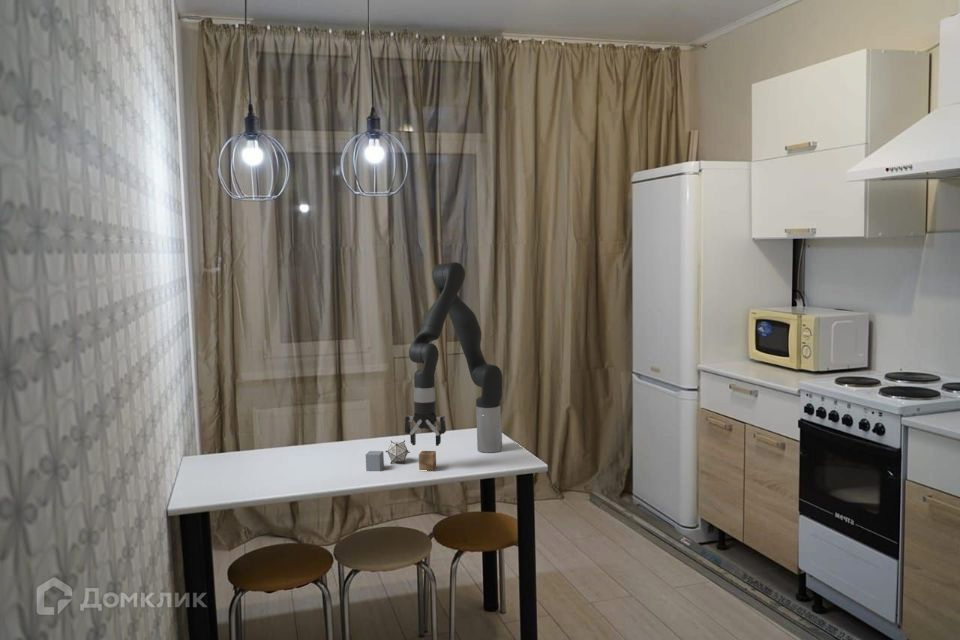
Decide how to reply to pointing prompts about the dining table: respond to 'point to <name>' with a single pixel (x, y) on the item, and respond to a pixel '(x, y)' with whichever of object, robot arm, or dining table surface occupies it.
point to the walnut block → (427, 460)
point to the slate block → (374, 460)
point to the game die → (397, 451)
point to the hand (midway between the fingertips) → (425, 445)
